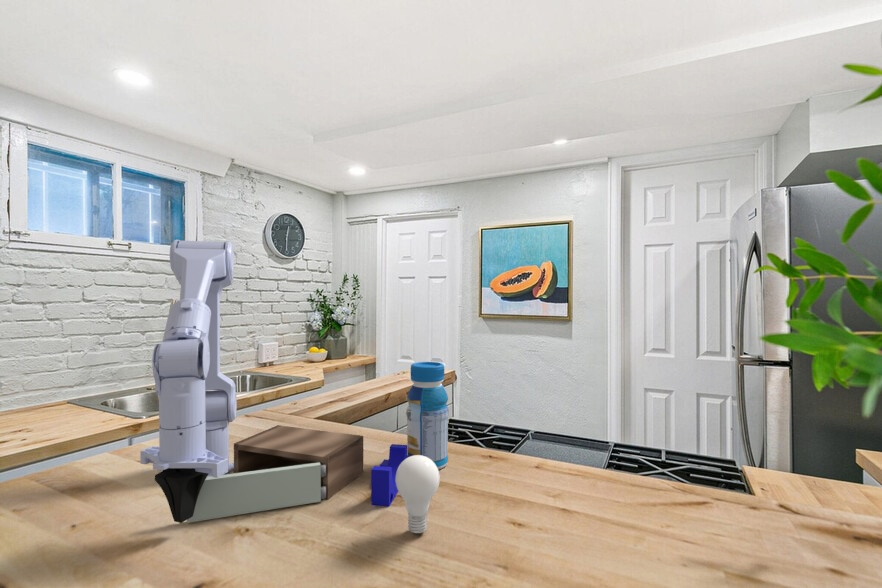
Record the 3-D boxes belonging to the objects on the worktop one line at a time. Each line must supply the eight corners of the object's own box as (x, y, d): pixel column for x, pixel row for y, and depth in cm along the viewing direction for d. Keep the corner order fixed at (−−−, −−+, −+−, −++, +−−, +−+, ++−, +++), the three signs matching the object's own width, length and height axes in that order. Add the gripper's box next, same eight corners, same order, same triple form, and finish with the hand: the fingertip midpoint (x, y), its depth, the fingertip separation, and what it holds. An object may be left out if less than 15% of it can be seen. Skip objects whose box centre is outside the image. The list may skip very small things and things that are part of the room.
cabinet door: (186, 522, 67) (186, 482, 67) (188, 518, 68) (188, 479, 68) (326, 500, 74) (326, 464, 74) (325, 497, 75) (325, 461, 75)
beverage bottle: (440, 475, 85) (440, 368, 84) (399, 469, 87) (399, 366, 87) (454, 458, 92) (453, 361, 92) (415, 454, 95) (415, 359, 95)
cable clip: (384, 475, 85) (384, 443, 85) (407, 476, 84) (407, 445, 84) (362, 505, 73) (362, 468, 73) (389, 507, 72) (389, 470, 72)
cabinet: (234, 482, 82) (233, 443, 82) (278, 459, 93) (277, 425, 93) (328, 499, 75) (327, 457, 75) (363, 472, 86) (363, 435, 86)
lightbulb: (423, 550, 60) (423, 468, 60) (386, 536, 64) (386, 459, 63) (448, 528, 66) (447, 453, 65) (412, 517, 69) (412, 445, 69)
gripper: (118, 426, 62) (119, 523, 63) (197, 438, 57) (198, 543, 58) (165, 413, 69) (166, 500, 69) (239, 422, 64) (240, 517, 64)
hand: (183, 518), depth 64 cm, fingers closed
